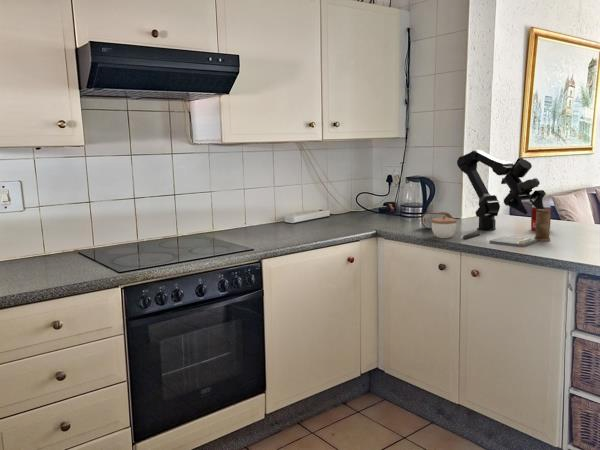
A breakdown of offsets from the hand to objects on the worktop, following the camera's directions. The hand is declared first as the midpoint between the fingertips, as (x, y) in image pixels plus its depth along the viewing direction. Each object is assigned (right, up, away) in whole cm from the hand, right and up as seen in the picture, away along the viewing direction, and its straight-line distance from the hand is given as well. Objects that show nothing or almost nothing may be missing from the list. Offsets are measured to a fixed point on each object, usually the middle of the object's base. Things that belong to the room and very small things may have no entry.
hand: (535, 212), depth 222 cm
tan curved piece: (-32, -7, +33) cm, 47 cm away
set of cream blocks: (-8, -12, -10) cm, 18 cm away
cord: (-23, -10, +9) cm, 27 cm away
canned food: (+12, -7, +22) cm, 26 cm away
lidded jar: (-35, -10, +12) cm, 38 cm away
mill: (+2, -11, -2) cm, 12 cm away
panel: (-11, -12, -5) cm, 17 cm away
